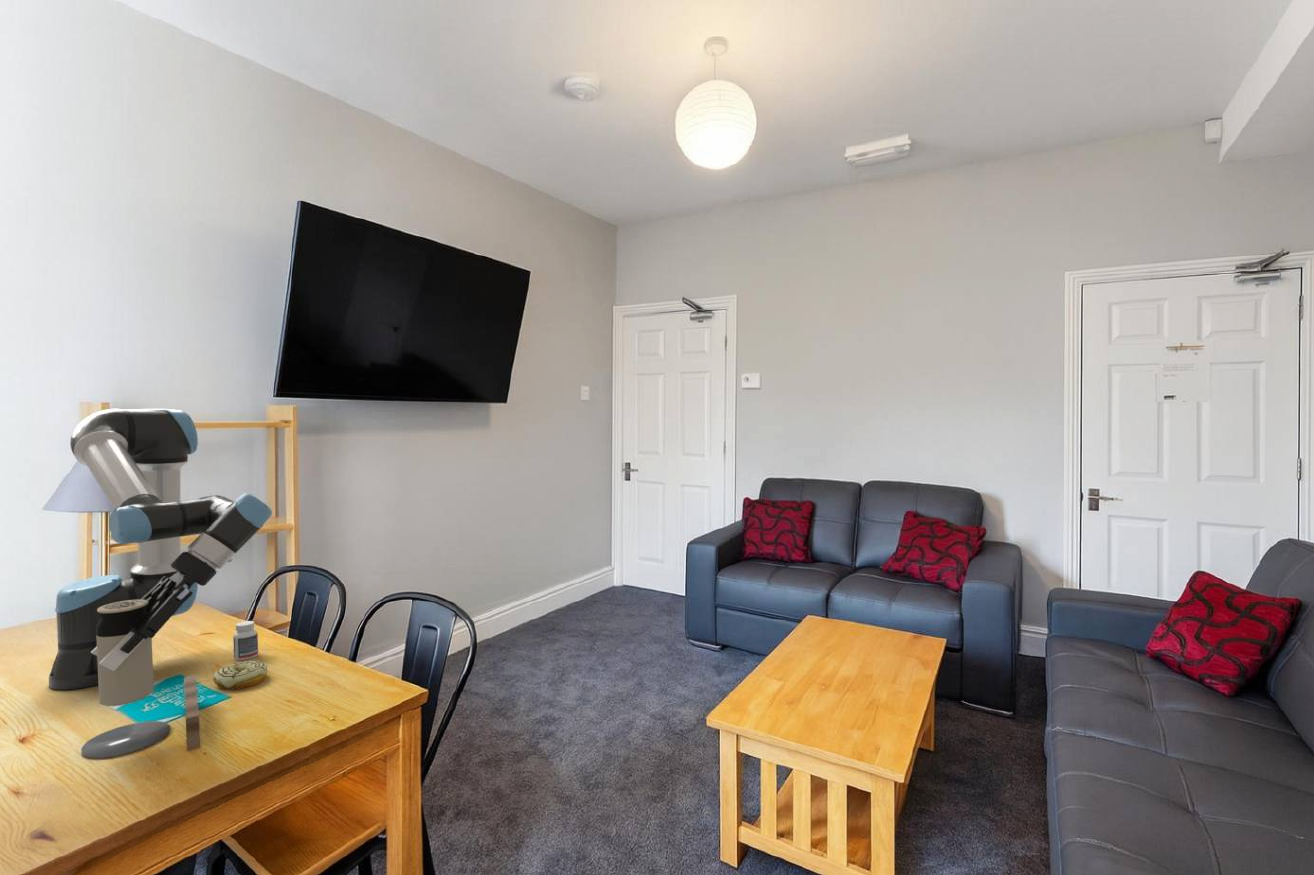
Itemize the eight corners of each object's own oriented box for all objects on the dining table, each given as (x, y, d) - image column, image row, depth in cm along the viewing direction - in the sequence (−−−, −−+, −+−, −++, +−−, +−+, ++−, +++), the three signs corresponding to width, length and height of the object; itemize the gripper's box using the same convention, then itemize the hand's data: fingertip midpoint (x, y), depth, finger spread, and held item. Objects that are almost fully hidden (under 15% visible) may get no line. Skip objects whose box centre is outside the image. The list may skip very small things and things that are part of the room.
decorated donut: (225, 696, 140) (225, 679, 140) (206, 685, 146) (205, 669, 146) (275, 680, 148) (275, 664, 148) (255, 670, 155) (254, 654, 154)
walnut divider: (200, 747, 118) (199, 715, 117) (186, 750, 116) (185, 718, 116) (196, 702, 137) (195, 675, 136) (185, 704, 135) (184, 677, 135)
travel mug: (108, 711, 114) (104, 613, 114) (92, 701, 119) (88, 607, 118) (161, 694, 121) (157, 602, 121) (144, 685, 125) (140, 596, 125)
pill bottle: (263, 654, 164) (262, 621, 164) (244, 662, 159) (243, 627, 159) (248, 652, 166) (247, 619, 166) (229, 659, 161) (228, 625, 161)
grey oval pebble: (61, 760, 113) (61, 757, 113) (118, 725, 126) (118, 722, 126) (136, 757, 114) (136, 753, 114) (185, 722, 127) (185, 719, 127)
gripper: (234, 578, 124) (132, 685, 112) (203, 563, 138) (110, 658, 126) (200, 556, 120) (92, 665, 108) (172, 543, 133) (73, 639, 122)
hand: (102, 661), depth 117 cm, fingers closed on travel mug, 8 cm apart
